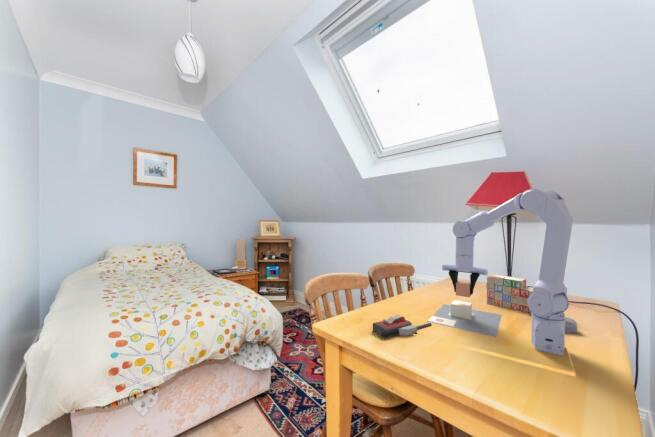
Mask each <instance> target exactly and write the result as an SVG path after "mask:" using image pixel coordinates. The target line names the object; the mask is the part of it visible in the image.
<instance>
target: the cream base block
mask: <svg viewBox="0 0 655 437" xmlns="http://www.w3.org/2000/svg"><path fill="white" fill-rule="evenodd" d="M450 306H451V315H453V316H458V317H463V318H468V319H469V318H470V316H471V314H472V310H473V309H472V308H473V303H472V302H468V301H461V300H455V299H453V300H452V302H451V303H450Z"/></svg>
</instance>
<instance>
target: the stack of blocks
mask: <svg viewBox="0 0 655 437" xmlns="http://www.w3.org/2000/svg"><path fill="white" fill-rule="evenodd" d="M532 292H533V287H530V286H527V279H526V278H521V277H520V278H519V277H514V276H508V275H500V274H490V275H486V305H488V306H494V307H500V308H506V309H512V310H517V311H521V312H526V313H528V316H531V313H532V311H531V310H530V309H529V307H528V304H527V300H528V297H529V296H530V295H531V294H532Z"/></svg>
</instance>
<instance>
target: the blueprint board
mask: <svg viewBox="0 0 655 437" xmlns="http://www.w3.org/2000/svg"><path fill="white" fill-rule="evenodd" d="M502 315H503V314H500V313H494V312H489V311H488V312H487V311H482V310H477V309H472V314H471V316H470V318H469V319H468V318H463V317H458V316H453V315H451V304H450V305H449V304H445V303H444V304H443V305H442V306H441V307H440V308H438V309H437V311H436V312H435V313H434V314H433V315H431V317H429V318H428V320H427V321H426V322H427V323H431V324H435V325H439V326H445V327H449V328H454V329H457V330H462V331H466V332H472V333H476V334H479V335H484V336H489V337H494V338H497V336H498V331H499V327H500V324H501V319H502Z"/></svg>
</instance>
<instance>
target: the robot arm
mask: <svg viewBox="0 0 655 437" xmlns="http://www.w3.org/2000/svg"><path fill="white" fill-rule="evenodd" d="M518 211H527V212H529V213H530V214H533V215H536V216H537V217H538V218H539V219H540V220H542V221H543V222H544V223H545V225H546V226H545V227H546V228H545V234H544V240H543V246H542V247H543V248H542V252H541V253H542V254H541V255H542V256H541V260H540V261H541V262H540V269H539V273H538V274H539V276H538V280H537V281H536V283H535V284H534V285H533V287H532V288H533V292H532V294H531V295H530V296H529V297H528V300H527V304H528V307H529V309H530V310H531V311H532V316H531V340H530V341H531V343H532V344H533V346H534V350H535V351H536V350H537V351H541V352H545V353H550V354H553V355H557V356H558V355H559V356H565V355H564V353H565V352H564V351H565V347H566V346H565V345H566V344H565V342H566V341H565V340H566V336H565V335H566V332H565V317H566V316H565V311H567V310H568V308H569V307H570V300H569V298H568V294H567V292H568V288H567V287H566V285H565V284H564V281H565V275H566V274H565V273H566V266H567V263H568V262H567V261H568V255H569V247H570V241H571V235H572V234H571V233H572V228H573V221H574V219H573V216H572V213H570V210H569V209H568V206H567V205H566V203H565V198H564V197H562V196H561V195H560V194H559V193H557V192H555V191H553V190H545V189H544V190H541V189H537V188H529V189H527V190H525V191H524V192H521V193H518V194H517V195H515V196H514V197H512V198H511V199H508V200H507V201H505V202H504V203H502V204H500V205H499V206H496V207H495V208H493V209H492V210H489V211H487V210H478V211H477V212H476V214H475V215H472V216H470V217H466V218H465V220H464V221H463V220H458V221H456V222H455V223H454V224H453V225H452V233H453V235H454V236H455V265H454V264H442V265H441V266H442V267H441V270H442V271H447V272H448V276H449V278H450V280H451V282H452V285H453V290H454V292H455V293H456V283H457V282H458V281H459V280H458V279H459V273H466V274H467V273H468V274H470V276H469V280H470V281H469V282H470V294H471V295H473V294H474V289H475V286H476V283H477V281H478V279H479V277H480V276H481V275H482V276H489V275H488V271H489V270H488V268H481V267H475V266H474V241H475V237H476V236H477V234H478V233H480V232H483V231H484V230H486V229H489V228H491V227H493V226H494V225H495V222H496V221H497V220H499V219H501V218H505V217H506V216H509V215H511V214H513V213H516V212H518Z"/></svg>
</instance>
